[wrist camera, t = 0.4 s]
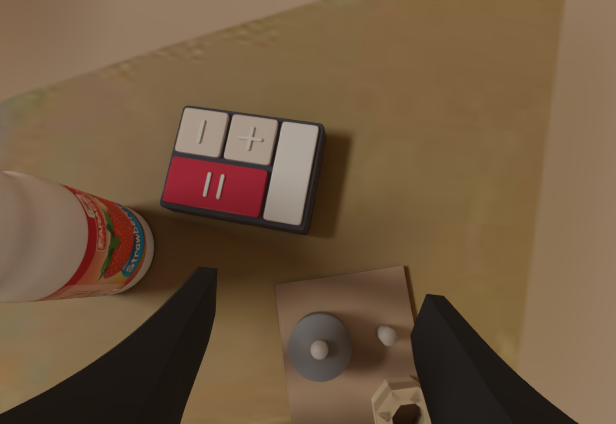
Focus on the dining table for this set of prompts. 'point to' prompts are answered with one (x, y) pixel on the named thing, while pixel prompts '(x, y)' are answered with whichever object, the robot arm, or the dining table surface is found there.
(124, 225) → the fruit juice
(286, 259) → the dining table surface
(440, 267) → the dining table surface
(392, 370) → the gear board
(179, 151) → the red white black box
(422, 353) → the robot arm
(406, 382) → the maple gear
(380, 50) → the dining table surface
